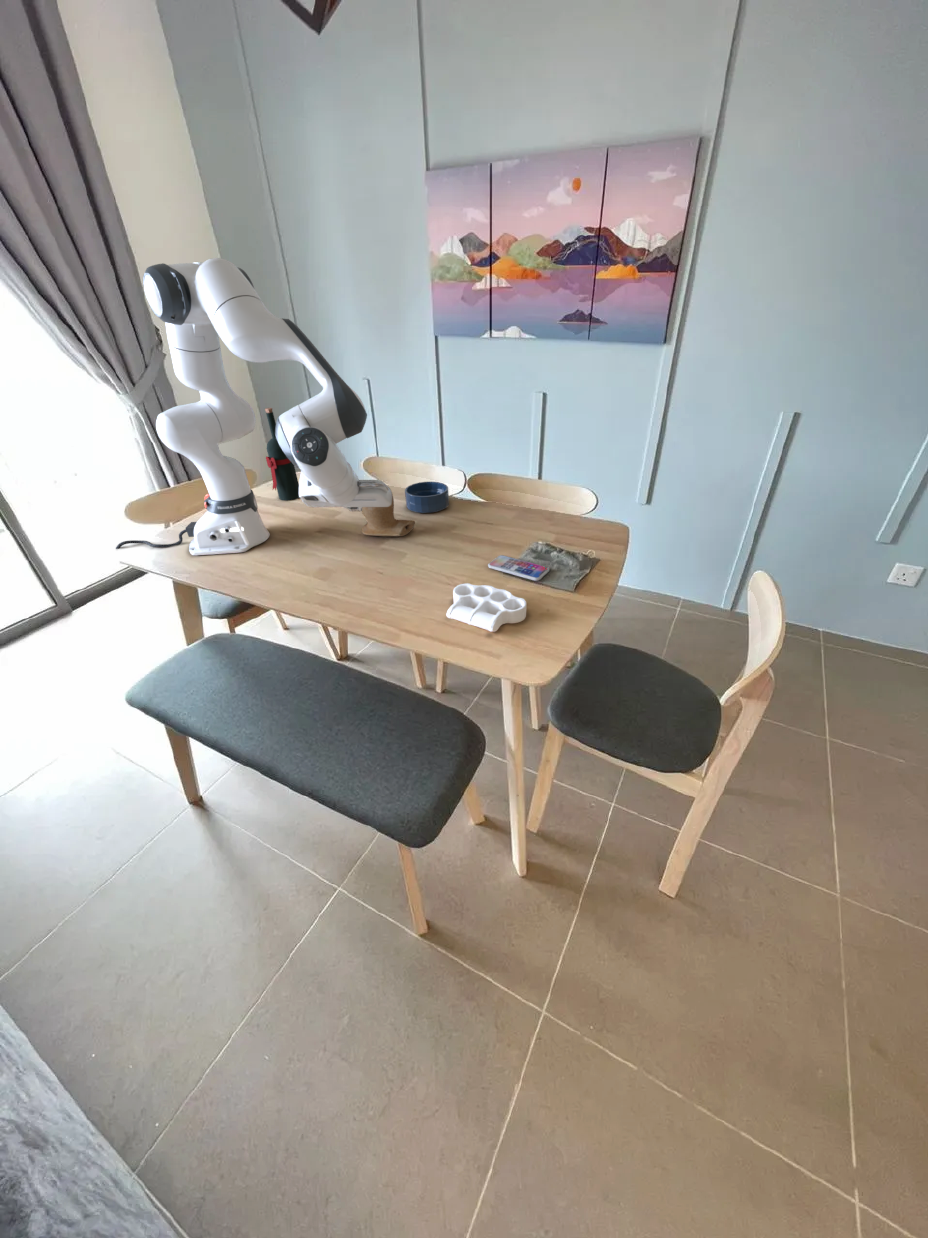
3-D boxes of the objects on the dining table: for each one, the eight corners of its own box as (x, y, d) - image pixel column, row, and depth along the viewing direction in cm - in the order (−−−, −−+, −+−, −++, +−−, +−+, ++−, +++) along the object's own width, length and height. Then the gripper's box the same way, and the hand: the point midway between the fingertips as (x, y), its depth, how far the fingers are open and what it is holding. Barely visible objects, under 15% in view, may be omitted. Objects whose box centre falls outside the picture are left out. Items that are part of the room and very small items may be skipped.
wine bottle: (269, 500, 175) (244, 411, 158) (290, 491, 182) (269, 404, 165) (285, 504, 172) (261, 413, 155) (306, 494, 179) (286, 406, 162)
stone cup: (355, 540, 145) (346, 491, 137) (371, 524, 155) (363, 477, 146) (403, 544, 142) (397, 494, 133) (416, 527, 151) (411, 479, 143)
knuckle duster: (435, 617, 111) (468, 587, 121) (506, 640, 103) (535, 606, 113) (433, 604, 109) (467, 575, 119) (506, 627, 101) (536, 594, 111)
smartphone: (500, 553, 133) (551, 567, 126) (500, 557, 133) (550, 570, 126) (486, 564, 128) (538, 579, 121) (486, 568, 128) (538, 582, 121)
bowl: (411, 517, 158) (409, 499, 155) (403, 501, 170) (401, 484, 166) (453, 510, 161) (452, 493, 158) (443, 496, 173) (442, 479, 169)
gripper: (385, 469, 106) (399, 496, 120) (294, 470, 108) (317, 496, 121) (384, 496, 105) (397, 520, 119) (291, 497, 107) (315, 520, 120)
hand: (356, 508), depth 120 cm, fingers closed
